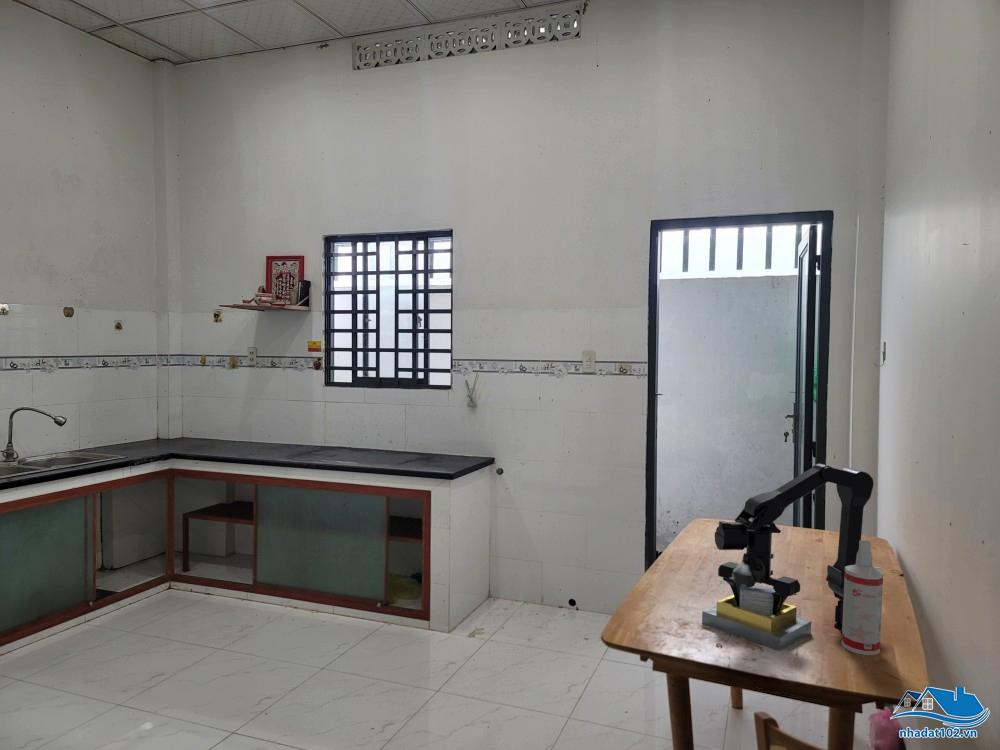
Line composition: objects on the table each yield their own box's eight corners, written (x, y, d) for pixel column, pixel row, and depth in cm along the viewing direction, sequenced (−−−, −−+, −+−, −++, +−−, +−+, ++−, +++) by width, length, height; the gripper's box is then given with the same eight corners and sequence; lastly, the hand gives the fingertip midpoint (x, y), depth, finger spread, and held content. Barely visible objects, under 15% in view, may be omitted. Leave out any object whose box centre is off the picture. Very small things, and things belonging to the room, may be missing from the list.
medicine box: (772, 621, 165) (773, 586, 165) (774, 628, 161) (775, 592, 161) (738, 617, 167) (739, 583, 167) (740, 623, 163) (741, 588, 163)
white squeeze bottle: (867, 641, 158) (872, 537, 158) (886, 655, 151) (891, 546, 150) (835, 640, 158) (839, 536, 157) (853, 654, 151) (857, 545, 150)
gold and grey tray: (810, 633, 162) (811, 609, 162) (779, 650, 151) (780, 624, 151) (734, 608, 177) (735, 586, 177) (701, 623, 166) (702, 599, 166)
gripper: (707, 546, 165) (705, 608, 166) (780, 565, 151) (777, 633, 152) (730, 539, 173) (728, 598, 173) (802, 556, 159) (799, 621, 159)
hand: (756, 612), depth 164 cm, fingers closed on medicine box, 9 cm apart
